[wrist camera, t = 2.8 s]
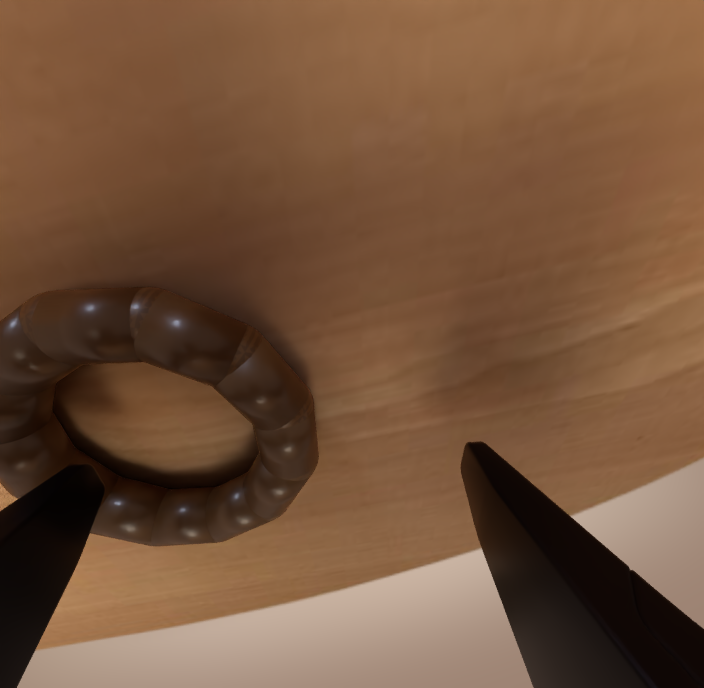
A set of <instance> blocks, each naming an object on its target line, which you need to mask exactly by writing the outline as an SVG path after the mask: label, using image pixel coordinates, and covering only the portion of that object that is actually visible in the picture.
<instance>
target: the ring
mask: <svg viewBox="0 0 704 688" xmlns="http://www.w3.org/2000/svg"><path fill="white" fill-rule="evenodd" d="M129 362H146V363H148V364H151V365H154V366H157V367H159V368H162V369H165V370H168V371H171V372H173V373H176V374H179V375H182V376H185V377H187V378H190V379H193V380H196V381H199V382H201V383H204V384H207V385H210V386H213V387H214V388H215V389H216V390H217V391H218V392H219V393H220V394H221V395H222V396H223V397H224V398H225V399H226V400H227V401H228V402H230V403H231V404H232V405H233V406H234V407H235V408H236V409H237V410H238V411H239V412H240V413H241V414H242V415H243V416H244V417H245V418H247V419H248V420H249V421H250V422H251V423H252V424H253V427H254V432H255V436H256V440H257V445H258V449H259V454H258V456H257V458H256V459H255V461H254V463H253V464H252V466H251V468H250V470H249V471H248V472H247V473H245V474H243V475H241V476H239V477H236V478H234V479H232V480H230V481H228V482H226V483H224V484H222V485H220V486H218V487H204V488H187V489H167V488H163V487H159V486H156V485H152V484H148V483H144V482H140V481H136V480H133V479H129V478H125V477H121V476H118V475H117V474H115V473H114V472H112V471H111V470H109V469H108V468H106V467H104V466H103V465H101V464H100V463H98V462H97V461H95V460H94V459H92V458H91V457H89V456H88V455H86V454H84V453H83V452H81V451H80V450H78V449H77V448H75V447H74V445H73V443H72V442H71V440H70V439H69V437H68V435H67V434H66V432H65V431H64V429H63V427H62V426H61V424H60V423H59V421H58V419H57V418H56V416H55V415H54V413H53V411H52V408H53V402H54V395H55V389H56V383H57V382H58V381H59V380H61V379H62V378H64V377H65V376H67V375H68V374H70V373H71V372H73V371H74V370H76V369H77V368H79V367H80V366H82V365H84V364H107V363H129ZM318 457H319V451H318V441H317V431H316V421H315V411H314V402H313V397H312V395H311V392H310V390H309V389H308V387H307V386H306V385H305V384H304V383H303V381H302V380H301V379H300V378H299V377H298V376H297V375H296V373H295V372H294V371H293V370H292V369H291V368H290V366H289V365H288V364H287V363H286V362H285V361H284V360H283V358H282V357H281V356H280V355H279V354H278V353H277V352H276V350H275V349H274V348H273V347H272V346H271V345H270V343H269V342H268V341H267V340H266V339H265V338H264V337H263V335H262V334H261V333H260V332H259V331H257V330H256V329H255V328H253V327H252V326H250V325H247V324H245V323H243V322H240V321H238V320H236V319H233V318H231V317H229V316H226V315H224V314H221V313H219V312H217V311H214V310H212V309H210V308H207V307H205V306H203V305H200V304H198V303H196V302H193V301H191V300H188V299H186V298H184V297H181V296H179V295H177V294H174V293H172V292H170V291H167V290H164V289H160V288H156V287H134V288H107V289H79V290H56V291H48V292H44V293H41V294H39V295H36V296H34V297H32V298H31V299H29V300H27V301H26V302H25V303H23V304H22V305H21V306H20V307H18V308H17V309H16V310H14V311H13V312H12V313H11V314H9V315H8V316H7V317H5V318H4V319H3V320H1V321H0V483H1V484H2V485H3V487H4V488H5V489H6V490H7V491H8V492H9V493H10V494H11V495H13V496H14V497H16V498H18V499H19V498H21V497H22V496H24V495H25V494H27V493H28V492H30V491H31V490H33V489H34V488H35V487H37V486H38V485H40V484H41V483H43V482H44V481H46V480H47V479H49V478H50V477H52V476H53V475H55V474H56V473H58V472H59V471H61V470H62V469H64V468H65V467H67V466H69V465H72V464H83V463H89V464H91V465H92V466H93V467H94V468H95V470H96V472H97V473H98V475H99V476H100V478H101V480H102V481H103V483H104V485H105V494H104V497H103V500H102V502H101V505H100V507H99V510H98V513H97V515H96V518H95V520H94V523H93V526H92V528H91V531H90V533H91V534H96V535H101V536H106V537H110V538H115V539H120V540H125V541H129V542H134V543H139V544H144V545H148V546H170V545H186V544H202V543H217V542H223V541H226V540H228V539H231V538H233V537H235V536H237V535H240V534H242V533H244V532H247V531H249V530H251V529H254V528H256V527H258V526H260V525H263V524H265V523H267V522H270V521H272V520H274V519H276V518H278V517H279V516H281V515H282V514H283V513H284V512H285V511H286V509H287V508H288V507H289V505H290V504H291V502H292V501H293V500H294V498H295V497H296V496H297V494H298V493H299V491H300V490H301V489H302V487H303V486H304V484H305V483H306V482H307V480H308V479H309V477H310V476H311V475H312V473H313V472H314V470H315V468H316V466H317V463H318Z"/></svg>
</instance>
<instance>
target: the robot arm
mask: <svg viewBox="0 0 704 688" xmlns="http://www.w3.org/2000/svg"><path fill="white" fill-rule="evenodd" d="M461 474H462V478H463V482H464V486H465V490H466V493H467V497H468V501H469V505H470V509H471V513H472V517H473V521H474V525H475V528H476V532H477V535H478V538H479V541H480V544H481V547H482V550H483V552H484V555H485V558H486V561H487V563H488V566H489V569H490V571H491V574H492V577H493V579H494V582H495V585H496V587H497V590H498V593H499V596H500V598H501V600H502V604H503V606H504V609H505V612H506V615H507V617H508V620H509V623H510V625H511V628H512V631H513V633H514V636H515V639H516V641H517V644H518V647H519V649H520V652H521V655H522V658H523V660H524V663H525V666H526V668H527V671H528V674H529V676H530V679H531V682H532V685H533V687H534V688H704V629H703V628H702V627H700V626H699V625H698V624H697V623H695V622H694V621H692V619H690V618H689V617H688V616H687V615H685V614H684V613H683V612H682V611H681V610H679V609H678V608H677V607H676V606H675V605H673V604H672V603H671V602H670V601H669V600H667V599H666V598H665V597H663V595H661V594H660V593H659V592H658V591H657V590H655V589H654V588H653V587H652V586H651V585H650V584H648V583H647V582H646V581H645V580H644V579H643V578H641V577H640V576H639V575H638V574H637V573H636V572H635V571H633V570H630V569H629V567H628V566H627V565H626V564H625V563H624V562H623V561H622V560H620V559H619V558H618V557H617V556H616V555H614V554H613V553H612V552H611V551H610V550H609V549H608V548H606V547H605V546H604V545H603V544H602V543H601V542H599V541H598V540H597V539H596V538H595V537H594V536H592V535H591V534H590V533H589V532H588V531H586V530H585V529H584V528H583V527H582V526H581V525H580V524H579V523H577V522H576V521H575V520H574V519H573V518H571V517H570V516H569V515H568V514H567V513H566V512H565V511H563V510H562V509H561V508H560V507H559V506H558V505H556V504H555V503H554V502H553V501H552V500H551V499H549V498H548V497H547V496H546V495H545V494H544V493H542V492H541V491H540V490H539V489H538V488H537V487H536V486H534V485H533V484H532V483H531V482H530V481H529V480H527V479H526V478H525V477H524V476H523V475H522V474H520V473H519V472H518V471H517V470H516V469H515V468H513V467H512V466H511V465H510V464H509V463H508V462H506V461H505V460H504V459H503V458H502V457H501V456H499V455H498V454H497V453H496V452H495V451H494V450H493V449H491V448H490V447H489V446H488V445H487V444H485V443H484V442H468V443H466V445H465V448H464V452H463V457H462V462H461ZM104 494H105V485H104V483H103V481H102V480H101V478H100V476H99V475H98V473H97V472H96V470H95V468H94V467H93V466H92V465H91V464H89V463H83V464H72V465H69V466H67V467H65V468H64V469H62V470H61V471H59V472H58V473H56V474H55V475H53V476H52V477H50V478H49V479H47V480H46V481H44V482H43V483H41V484H40V485H38V486H37V487H35V488H34V489H33V490H31V491H30V492H28V493H27V494H25V495H24V496H22V497H21V498H19V499H18V500H16V501H15V502H13V503H12V504H10V505H9V506H7V507H6V508H4V509H3V510H1V511H0V688H17V686H18V684H19V682H20V680H21V678H22V676H23V674H24V672H25V669H26V667H27V665H28V664H29V661H30V660H31V657H32V655H33V653H34V651H35V649H36V647H37V645H38V643H39V641H40V639H41V637H42V635H43V633H44V631H45V629H46V627H47V625H48V623H49V621H50V619H51V617H52V615H53V613H54V611H55V609H56V607H57V605H58V603H59V601H60V599H61V597H62V595H63V593H64V591H65V589H66V586H67V584H68V582H69V580H70V578H71V576H72V574H73V572H74V570H75V568H76V566H77V564H78V561H79V559H80V556H81V554H82V552H83V549H84V547H85V544H86V541H87V539H88V536H89V534H90V531H91V528H92V526H93V523H94V520H95V518H96V515H97V513H98V510H99V507H100V505H101V502H102V500H103V497H104Z"/></svg>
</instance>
